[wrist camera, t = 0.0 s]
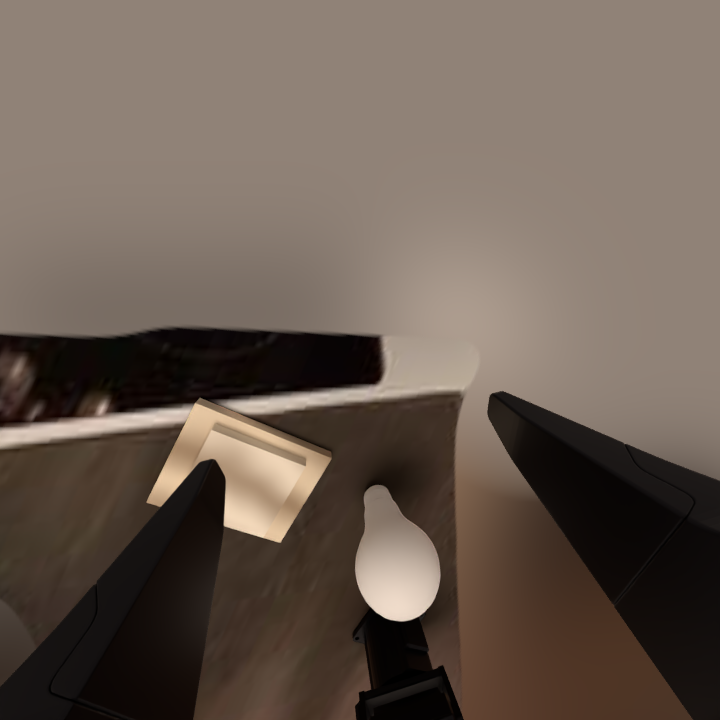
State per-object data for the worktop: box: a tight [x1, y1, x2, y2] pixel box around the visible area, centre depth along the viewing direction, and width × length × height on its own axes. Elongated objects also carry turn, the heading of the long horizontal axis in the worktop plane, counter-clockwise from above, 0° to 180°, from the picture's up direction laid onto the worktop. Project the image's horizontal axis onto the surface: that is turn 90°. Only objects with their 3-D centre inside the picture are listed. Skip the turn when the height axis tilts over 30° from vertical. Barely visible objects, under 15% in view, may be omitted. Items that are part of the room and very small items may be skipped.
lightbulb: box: [355, 485, 440, 621], centre depth 24 cm, size 6×6×11 cm
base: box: [147, 398, 332, 543], centre depth 26 cm, size 10×12×2 cm
